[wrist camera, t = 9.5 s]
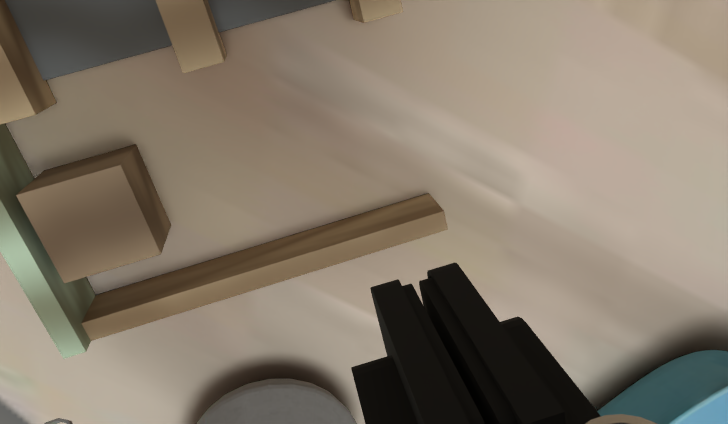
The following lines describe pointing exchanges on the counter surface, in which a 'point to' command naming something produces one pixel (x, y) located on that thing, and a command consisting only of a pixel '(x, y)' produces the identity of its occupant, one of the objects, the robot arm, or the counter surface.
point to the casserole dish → (679, 392)
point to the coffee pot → (274, 405)
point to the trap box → (194, 51)
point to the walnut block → (96, 213)
